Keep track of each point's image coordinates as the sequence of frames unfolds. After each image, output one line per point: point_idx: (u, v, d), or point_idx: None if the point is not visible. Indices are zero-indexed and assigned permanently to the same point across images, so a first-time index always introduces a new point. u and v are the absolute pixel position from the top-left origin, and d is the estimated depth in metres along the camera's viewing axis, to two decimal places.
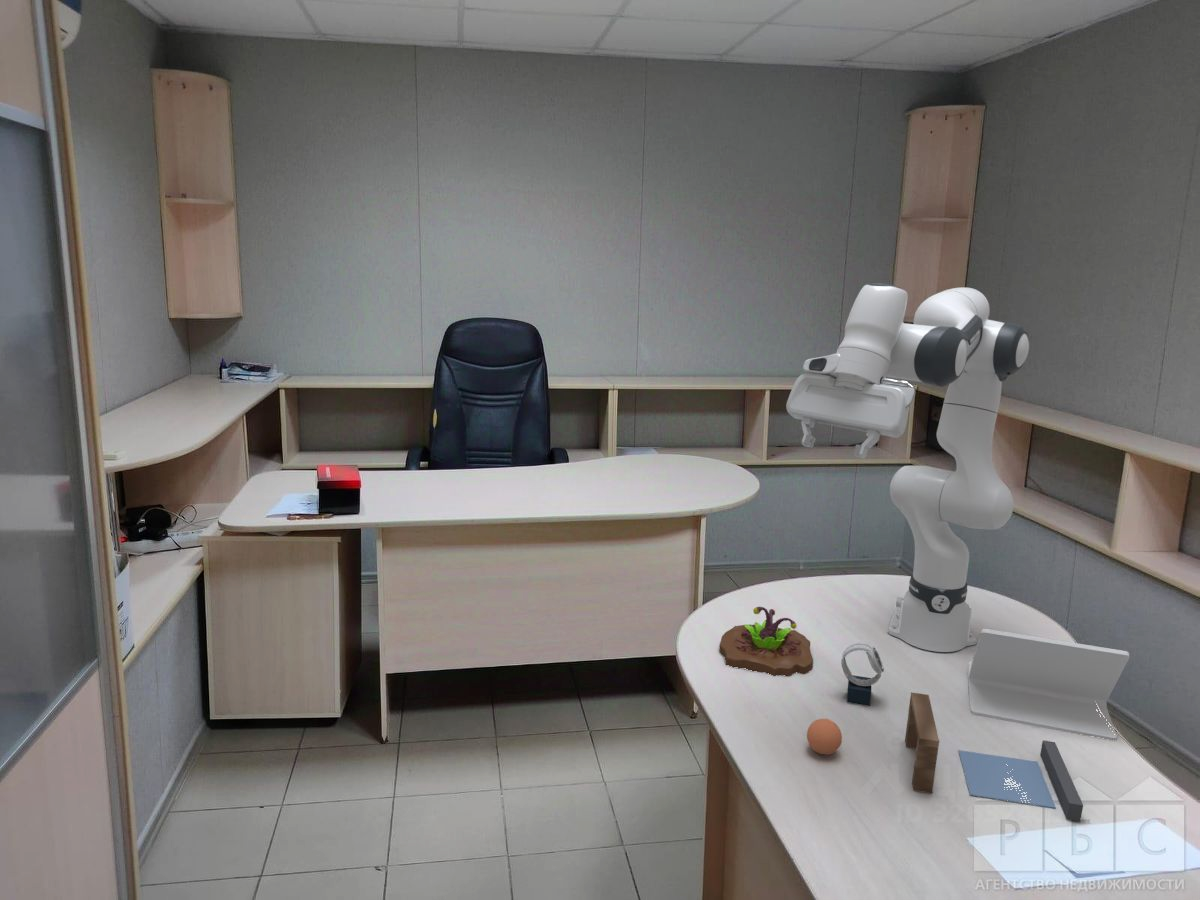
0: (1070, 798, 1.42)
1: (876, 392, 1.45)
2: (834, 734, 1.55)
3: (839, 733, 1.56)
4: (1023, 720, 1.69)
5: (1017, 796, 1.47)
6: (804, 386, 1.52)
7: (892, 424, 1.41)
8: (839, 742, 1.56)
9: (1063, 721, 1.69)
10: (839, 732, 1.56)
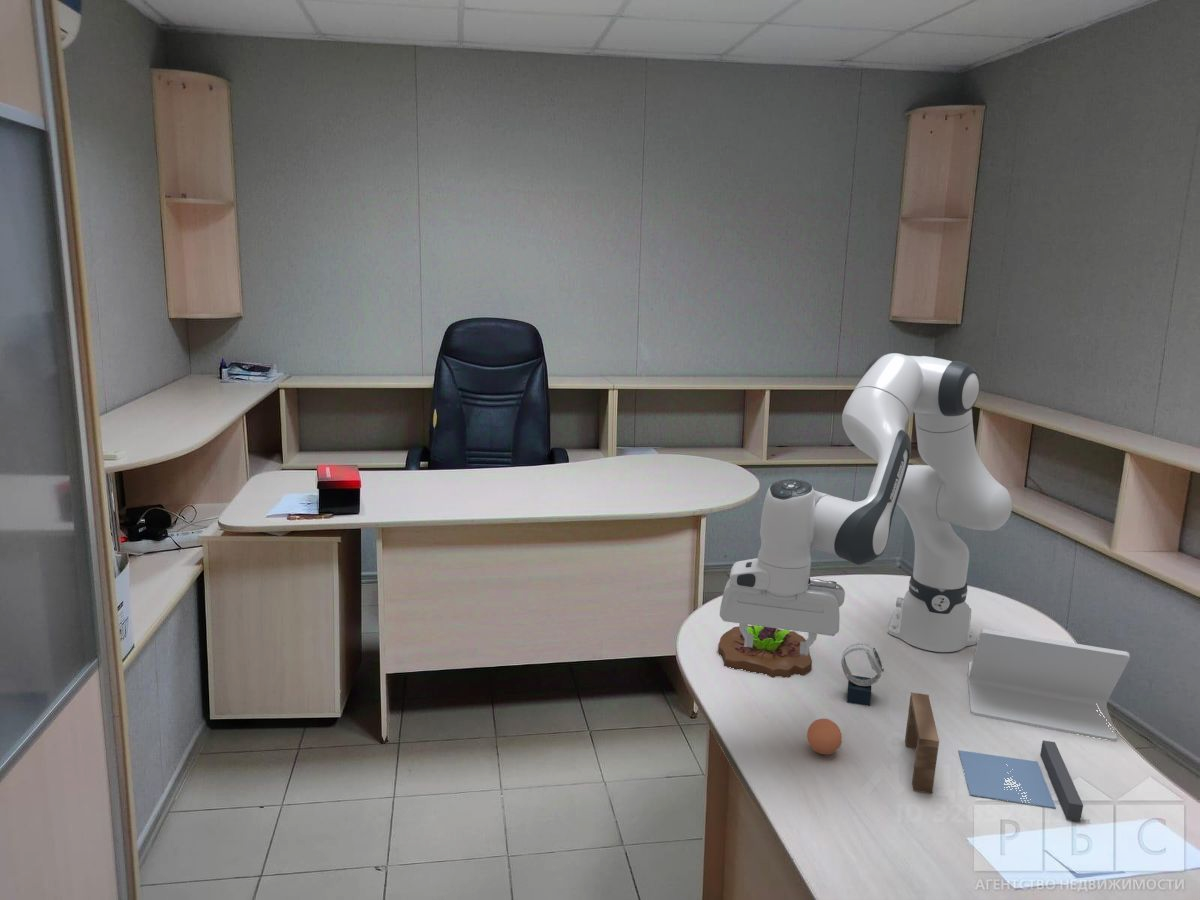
0: (1070, 798, 1.42)
1: (810, 600, 1.50)
2: (834, 734, 1.55)
3: (839, 733, 1.56)
4: (1023, 721, 1.69)
5: (1017, 796, 1.47)
6: (734, 596, 1.53)
7: (834, 630, 1.50)
8: (839, 742, 1.56)
9: (1063, 722, 1.68)
10: (839, 732, 1.56)
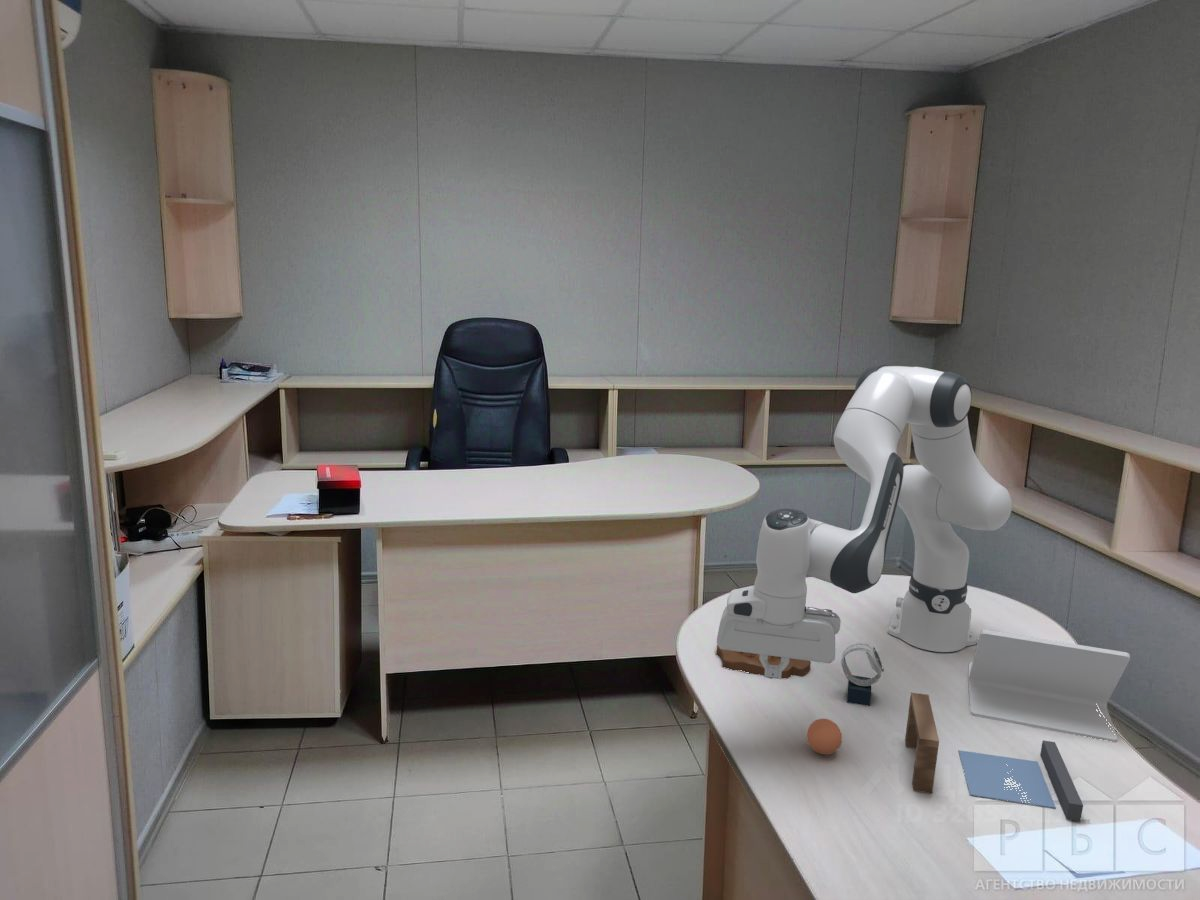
0: (1070, 798, 1.42)
1: (806, 628, 1.52)
2: (834, 734, 1.55)
3: (839, 733, 1.56)
4: (1023, 721, 1.68)
5: (1017, 796, 1.47)
6: (731, 625, 1.54)
7: (830, 658, 1.52)
8: (839, 742, 1.56)
9: (1064, 723, 1.68)
10: (839, 732, 1.56)
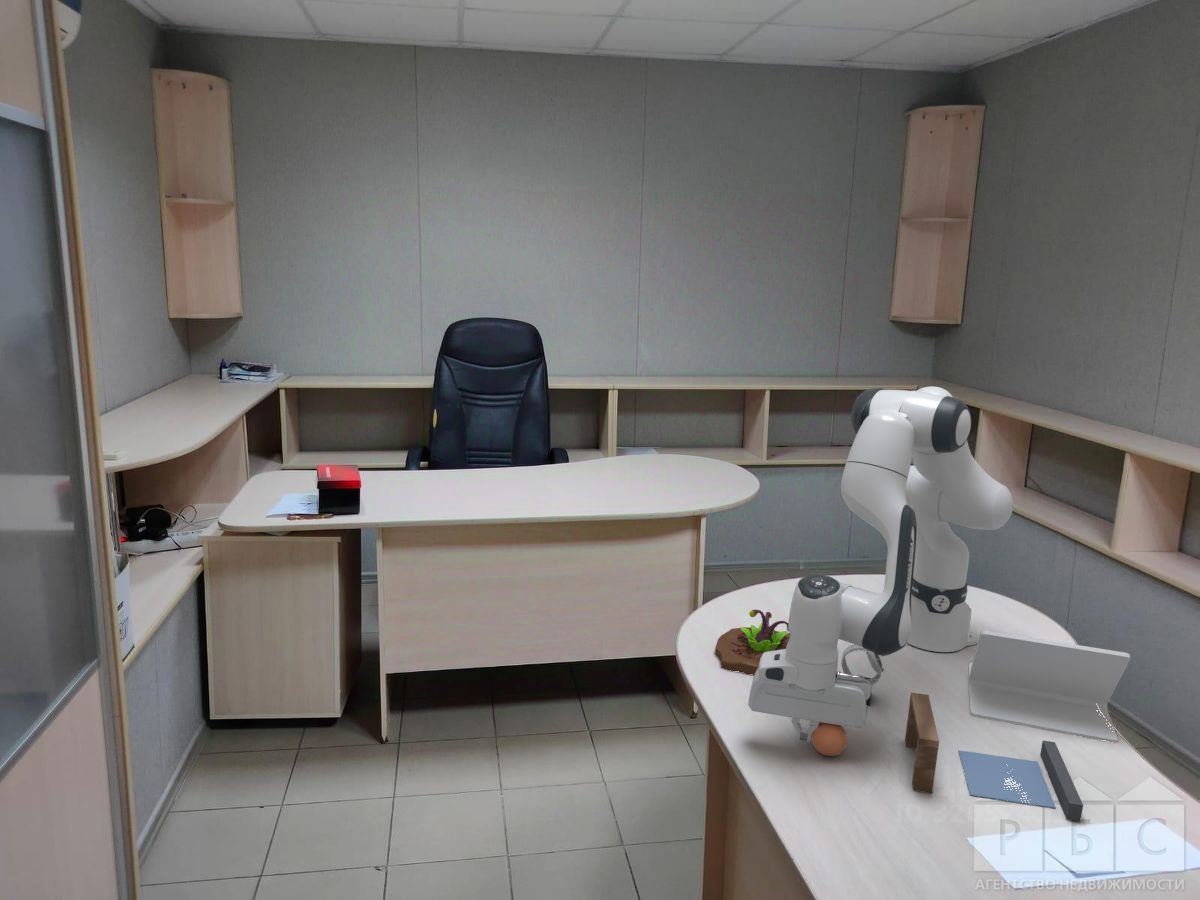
0: (1070, 798, 1.42)
1: (837, 694, 1.54)
2: (842, 739, 1.55)
3: (846, 739, 1.56)
4: (1023, 722, 1.68)
5: (1017, 796, 1.47)
6: (763, 688, 1.57)
7: (860, 723, 1.54)
8: (844, 747, 1.56)
9: (1064, 723, 1.68)
10: (846, 738, 1.56)
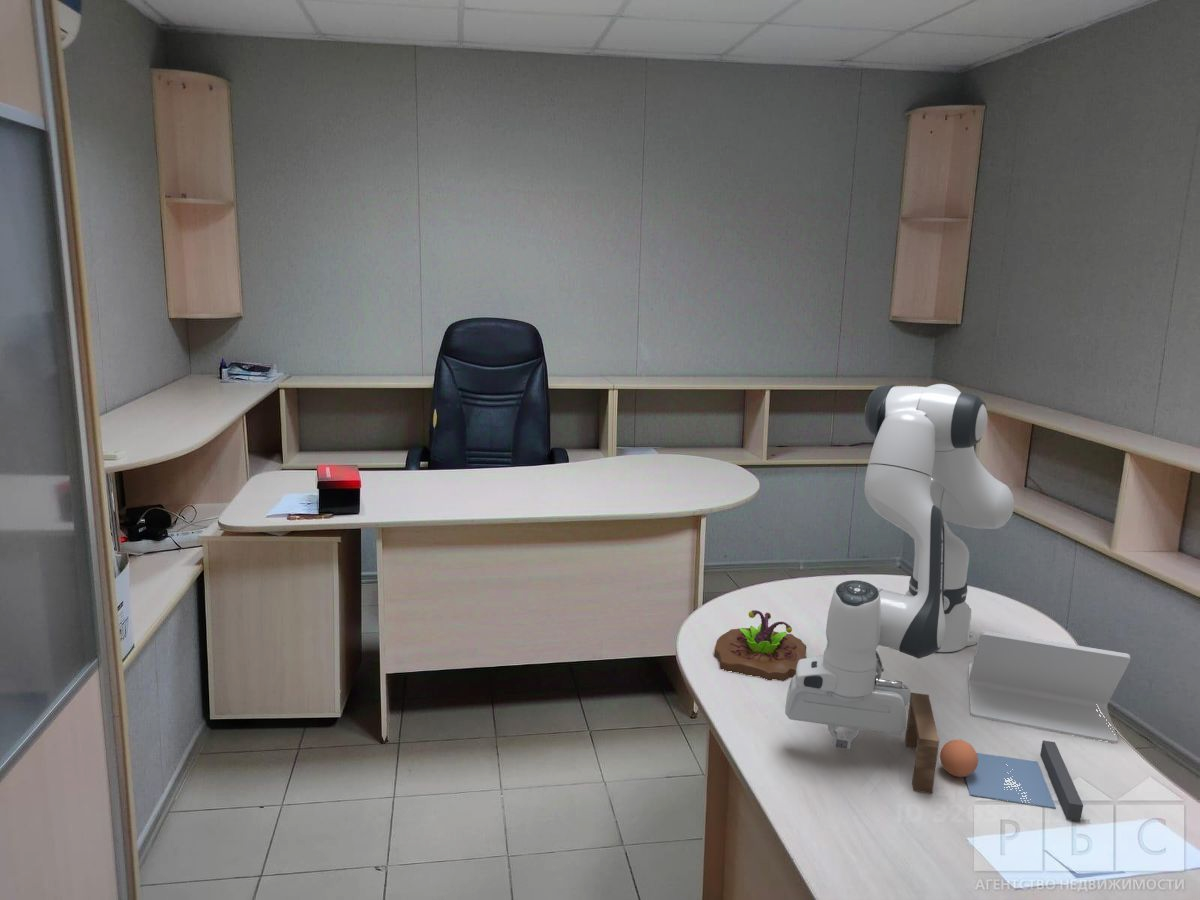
0: (1070, 798, 1.42)
1: (876, 700, 1.52)
2: (975, 761, 1.50)
3: (977, 761, 1.51)
4: (1023, 723, 1.68)
5: (1017, 796, 1.47)
6: (800, 696, 1.55)
7: (900, 729, 1.52)
8: (974, 770, 1.51)
9: (1064, 724, 1.68)
10: (977, 760, 1.51)
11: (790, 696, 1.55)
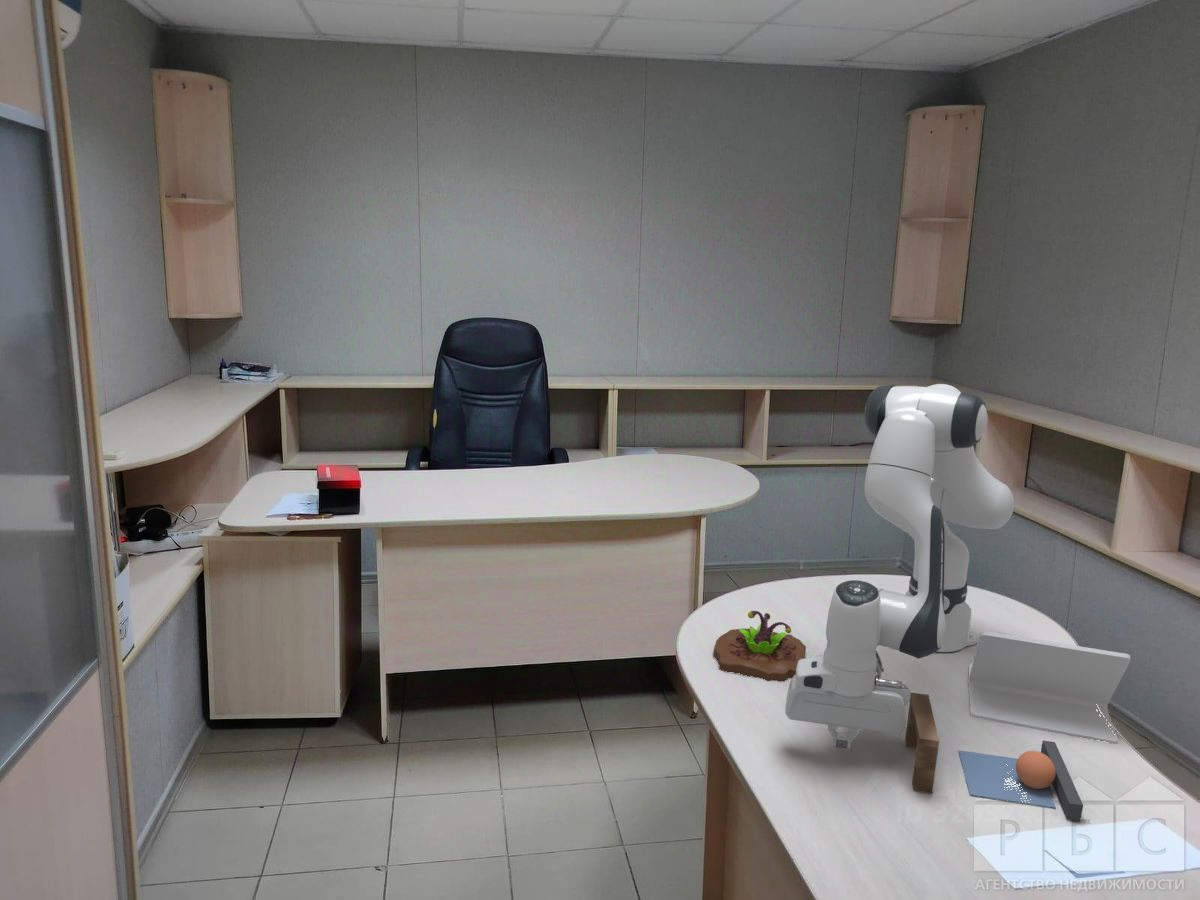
0: (1070, 798, 1.42)
1: (876, 700, 1.52)
2: (1025, 766, 1.48)
3: (1025, 758, 1.49)
4: (1023, 723, 1.68)
5: (1017, 796, 1.47)
6: (800, 696, 1.55)
7: (900, 729, 1.52)
8: (1034, 759, 1.48)
9: (1064, 725, 1.68)
10: (1024, 757, 1.49)
11: (790, 696, 1.55)
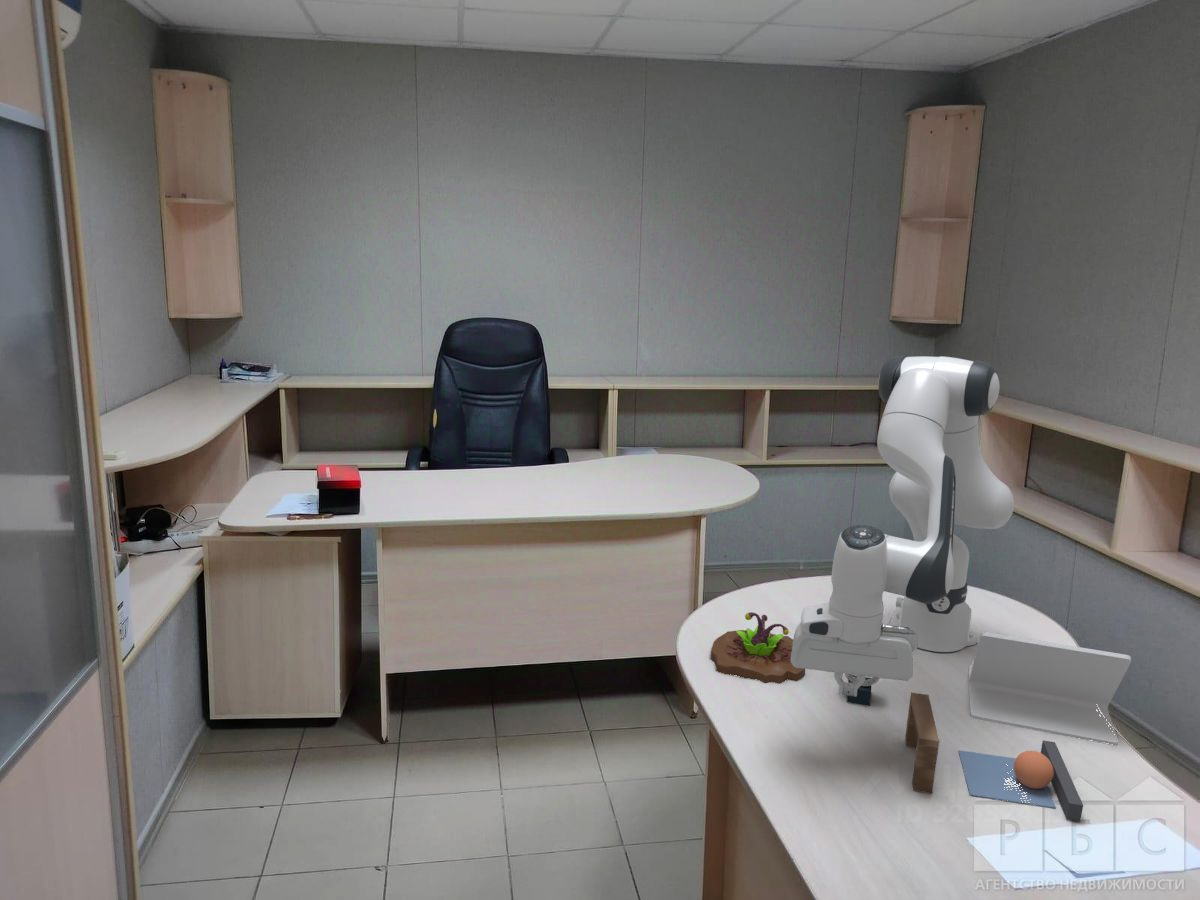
0: (1070, 798, 1.42)
1: (883, 646, 1.50)
2: (1022, 767, 1.48)
3: (1022, 759, 1.49)
4: (1024, 724, 1.67)
5: (1017, 796, 1.47)
6: (806, 643, 1.52)
7: (908, 675, 1.50)
8: (1031, 759, 1.48)
9: (1064, 726, 1.67)
10: (1021, 758, 1.49)
11: (795, 644, 1.53)
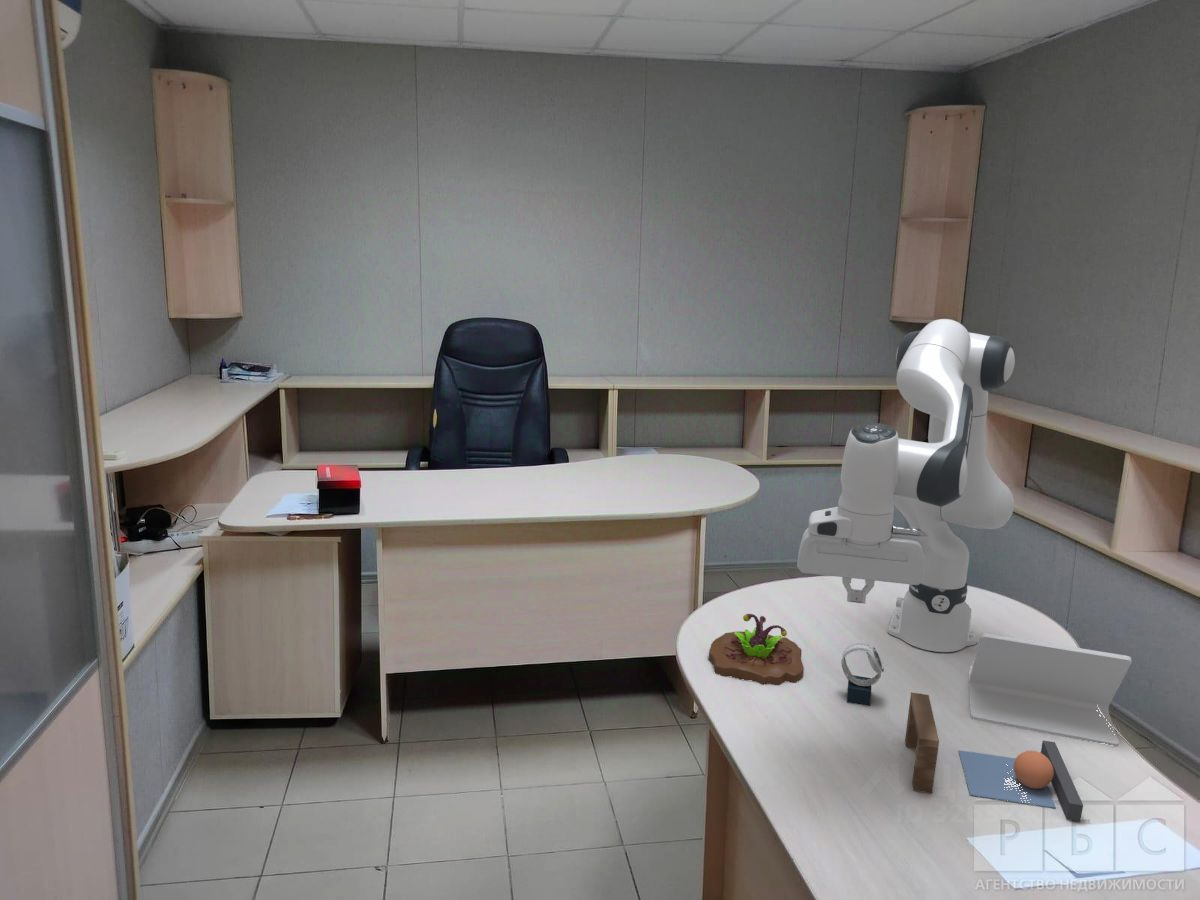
0: (1070, 798, 1.42)
1: (894, 548, 1.45)
2: (1022, 767, 1.48)
3: (1022, 759, 1.49)
4: (1024, 725, 1.67)
5: (1017, 796, 1.47)
6: (813, 546, 1.48)
7: (918, 579, 1.45)
8: (1031, 759, 1.48)
9: (1065, 727, 1.67)
10: (1021, 758, 1.49)
11: (803, 547, 1.48)
